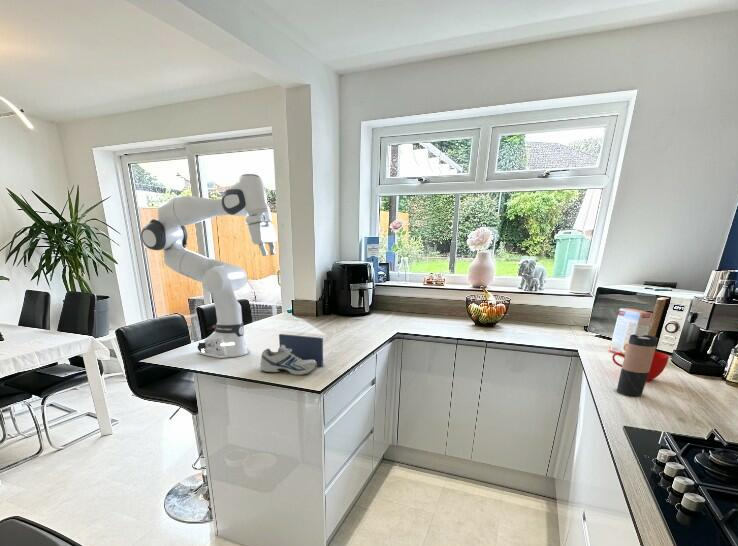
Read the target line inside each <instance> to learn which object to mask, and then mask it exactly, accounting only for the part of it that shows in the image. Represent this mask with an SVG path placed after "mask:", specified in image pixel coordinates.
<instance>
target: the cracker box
mask: <svg viewBox="0 0 738 546" xmlns="http://www.w3.org/2000/svg"><path fill="white" fill-rule="evenodd" d="M653 315H654V313H653V312H649V311H645V310H642V309H641V310H640V309H635V308H629V307H621V308H619V309H618V313H617V318H616V322H615V327H614V330H613V333H612V338H611V342H610V346H609V350H608V352H611V353H613V354H615V353H622V354H624V355H625V354H626V350H627V346H628V343H629V339H630V336H631V335H636V336H644V335H649V334H648V333H649V330H650V327H651V323H652V321H653V320H652V319H653Z"/></svg>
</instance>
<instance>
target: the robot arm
mask: <svg viewBox="0 0 738 546" xmlns="http://www.w3.org/2000/svg"><path fill="white" fill-rule="evenodd" d="M229 215H230V216H242V217H243V216H246V217H245V219H244V221H245V224H246V225H247V228H248V232H249V235H250V238H251V242H252V243H253V245H258V248H259V250H260V252H261V256H262V257H266V256H268V254H270V256H274V255H276V250H275V249H276V247H275V246H276V245H275V244H276V243H277V242H278V237H277V233H276V229H275V227H274V224H273V217H272V214H271V209H270V206H269V204H268V195H267V193H266V188H265V185H264V182H263V180H262V178H261V177H260V176H259V175H258V174H254V173H245V174H241V175H240V176H239V178H238V180H237V181H236V183H235V184H234V185H232V186H231V187H230V188H229V189H226V190H225V191H223V192H222V195H221V198H218V199H217V198H215V199H214V198H207V197H206V198H205V197H200V196H195V195H194V196H193V195H181V196H175V197H172V198H168V199H167V200H163V201H162V202H160V204H159V205H158V206H157V216H158V217H157V219H155V218H152V219H150V221H149V222H148V224H146V225H145V226H144V227H143V228H142V229H141V232H140V238H141V241H142V243H143V245H144V246H145V247H146V248H148V249H149V250H151V251H161V250H162V251H163V262H164V264H165V266H167V267H168V268H170V269H171V270H172V271H174V272H176V273H178V274H180V275H182V276H184V277H187V278H190V279H191V280H194V281H197V282H199V283H202V284H203V287H204V288H205V290H207V292H209V294H210V296H211V298H212V301H213V303H214V307H215V308H214V309H215V316H216V323H215V324H214V325H212V327H211V328H212V329H214V331H213V332H212V333H211V334H210V335H208V336H207V337H206V338H205V339H204V340H199V342H198V345H197V350H198V354H199V355H204V356H207V357H208V356H209V357H212V358H216V359H226V358H236V357H241V356H245V355H247V354H248V353H249V351H248V347H247V344H246V340H245V335H244V334H245V328H244V325H245V324H244V322H243V313H242V312H243V311H242V305H241V304H240V302H239V301H238V299H237V297H236V293H235V291H239V290H241V289H242V288H244V287H245V286H246V285H247V282H248V275H247V272H246V270H245V269H243V268H242V267H240V266H237V265H234V264H231V263H228V262H225V261H222V260H221V261H220V260H218V259H213V258H209V257H206V256H204V255H202V254H199V253H196V252H194V251H192V250H189V249H187V248H186V247H187V246H188V231H187V228H186V227H185V226H191V225H195V224H198V223H201V222H203V221H204V222H205V221H207V220H210V219H213V218H216V217H217V218H218V217H222V216H229ZM266 245H268V247H269V253H268V250H267V249H266Z"/></svg>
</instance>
